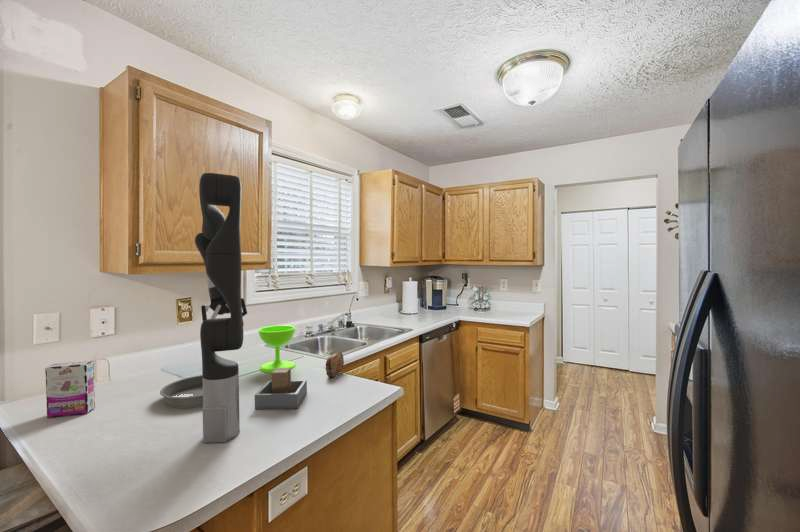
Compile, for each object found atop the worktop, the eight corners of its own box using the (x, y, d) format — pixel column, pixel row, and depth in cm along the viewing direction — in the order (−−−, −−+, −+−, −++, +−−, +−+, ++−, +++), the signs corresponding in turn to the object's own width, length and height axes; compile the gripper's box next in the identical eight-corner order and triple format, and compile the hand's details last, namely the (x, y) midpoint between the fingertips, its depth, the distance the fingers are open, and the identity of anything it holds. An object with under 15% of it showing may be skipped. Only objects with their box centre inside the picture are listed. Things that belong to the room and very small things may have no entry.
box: (297, 409, 121) (297, 394, 121) (254, 410, 121) (254, 395, 120) (306, 393, 135) (306, 380, 135) (268, 394, 135) (268, 380, 134)
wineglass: (258, 365, 172) (257, 327, 172) (292, 360, 179) (292, 324, 179) (260, 374, 158) (259, 333, 157) (298, 369, 164) (297, 330, 164)
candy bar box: (96, 408, 124) (94, 360, 123) (87, 414, 119) (86, 364, 119) (56, 412, 121) (54, 363, 120) (45, 418, 116) (44, 367, 116)
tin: (331, 379, 150) (331, 359, 150) (324, 379, 151) (324, 359, 151) (344, 368, 165) (344, 350, 165) (337, 368, 166) (337, 350, 166)
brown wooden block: (286, 401, 125) (286, 372, 125) (272, 401, 125) (271, 372, 125) (291, 395, 130) (290, 368, 130) (276, 396, 130) (276, 368, 130)
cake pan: (164, 391, 139) (164, 379, 139) (235, 381, 150) (234, 370, 150) (155, 416, 117) (155, 402, 117) (238, 401, 128) (238, 389, 128)
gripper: (196, 288, 123) (204, 335, 122) (241, 281, 129) (249, 326, 128) (198, 291, 130) (206, 336, 128) (241, 283, 136) (249, 326, 134)
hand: (228, 331), depth 128 cm, fingers open, 8 cm apart
